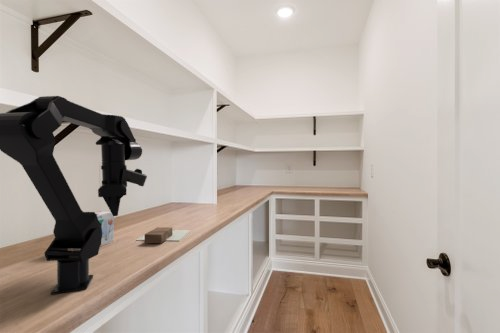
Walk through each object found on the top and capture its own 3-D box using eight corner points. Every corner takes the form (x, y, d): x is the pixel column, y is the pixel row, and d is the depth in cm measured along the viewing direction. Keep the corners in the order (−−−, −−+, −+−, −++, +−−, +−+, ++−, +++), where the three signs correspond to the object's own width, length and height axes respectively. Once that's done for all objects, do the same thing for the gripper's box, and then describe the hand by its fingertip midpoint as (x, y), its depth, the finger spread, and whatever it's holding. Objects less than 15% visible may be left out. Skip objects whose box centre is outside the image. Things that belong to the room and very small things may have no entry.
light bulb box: (89, 251, 78) (89, 217, 78) (72, 249, 79) (71, 216, 79) (114, 241, 88) (114, 211, 88) (98, 240, 90) (98, 210, 90)
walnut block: (161, 234, 84) (172, 227, 94) (144, 234, 85) (157, 227, 95) (161, 243, 84) (172, 235, 94) (144, 243, 85) (157, 235, 95)
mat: (179, 241, 88) (179, 240, 88) (135, 240, 88) (135, 239, 88) (191, 231, 102) (191, 230, 102) (153, 230, 102) (153, 230, 102)
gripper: (146, 162, 64) (148, 221, 65) (143, 159, 81) (144, 206, 82) (96, 163, 59) (99, 226, 60) (104, 160, 76) (105, 209, 77)
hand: (115, 215), depth 70 cm, fingers closed
